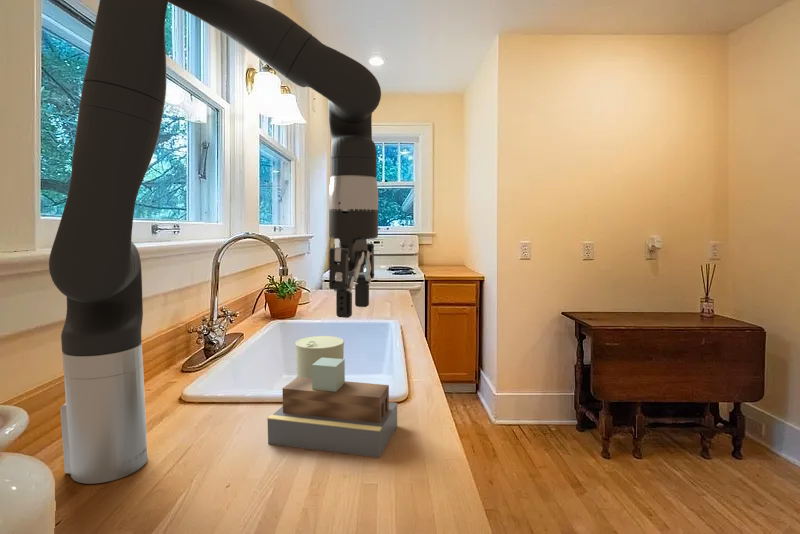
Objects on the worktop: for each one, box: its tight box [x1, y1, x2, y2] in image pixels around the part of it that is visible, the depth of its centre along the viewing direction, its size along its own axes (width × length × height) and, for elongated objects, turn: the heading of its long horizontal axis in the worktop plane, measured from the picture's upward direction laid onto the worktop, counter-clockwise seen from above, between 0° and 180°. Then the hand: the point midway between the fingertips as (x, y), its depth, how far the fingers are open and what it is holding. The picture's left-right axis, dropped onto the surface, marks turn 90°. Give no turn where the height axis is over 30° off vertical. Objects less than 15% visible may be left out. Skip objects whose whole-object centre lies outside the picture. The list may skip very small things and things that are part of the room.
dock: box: [266, 401, 398, 458], centre depth 77 cm, size 18×11×4 cm, turn 77°
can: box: [294, 335, 345, 378], centre depth 91 cm, size 9×9×12 cm
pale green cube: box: [312, 358, 346, 392], centre depth 76 cm, size 4×4×4 cm
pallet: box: [281, 376, 390, 423], centre depth 76 cm, size 16×6×4 cm, turn 77°
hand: (353, 311), depth 74 cm, fingers open, 8 cm apart
